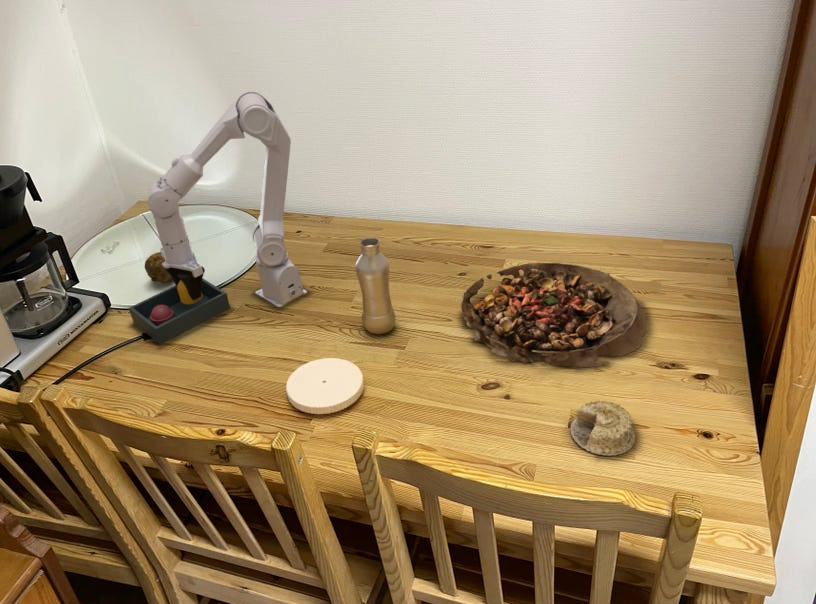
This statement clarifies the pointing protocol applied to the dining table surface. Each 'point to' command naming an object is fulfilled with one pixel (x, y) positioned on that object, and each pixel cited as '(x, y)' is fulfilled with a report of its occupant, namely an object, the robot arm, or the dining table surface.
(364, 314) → the plastic bottle
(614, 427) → the cake
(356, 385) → the plastic lid
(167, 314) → the dark red hollow cup
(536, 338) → the food dish
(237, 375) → the dining table surface
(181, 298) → the orange rounded piece
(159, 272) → the potato
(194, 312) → the tote
